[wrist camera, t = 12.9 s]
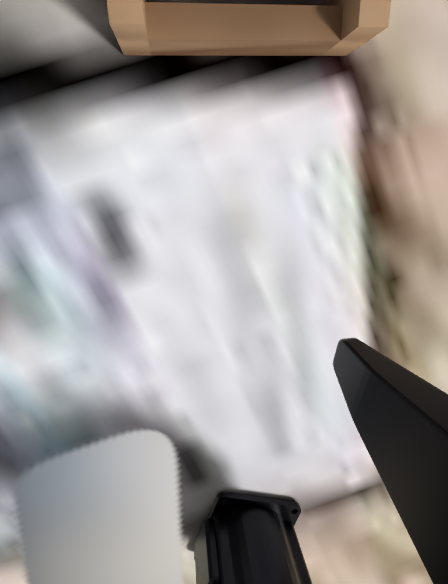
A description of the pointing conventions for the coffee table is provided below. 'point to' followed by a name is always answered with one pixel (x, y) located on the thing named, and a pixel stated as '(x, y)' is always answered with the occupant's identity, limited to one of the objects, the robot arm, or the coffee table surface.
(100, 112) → the coffee table surface
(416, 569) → the coffee table surface
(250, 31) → the brown wooden frame
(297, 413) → the coffee table surface
